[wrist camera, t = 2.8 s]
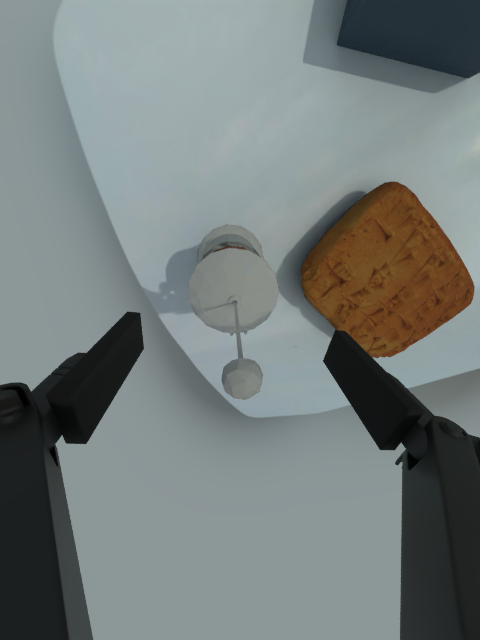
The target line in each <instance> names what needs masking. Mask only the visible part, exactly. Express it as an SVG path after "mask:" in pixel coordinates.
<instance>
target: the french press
mask: <svg viewBox="0 0 480 640" xmlns="http://www.w3.org/2000/svg"><path fill="white" fill-rule="evenodd" d="M263 258H264V257H263V253H262V249H261V244H260V243H259V242H258V240H257V239H256V238H255V236H254V235H253V233H251V232H249V231H247V230H246V229H244V228H242V227H241V226H232V225H225V226H222V227H219V228H216V229H213V230H212V231H211V232H210V233H209V234H208V235H207V236H206V237H205V238H204V239H203V241H202V243H201V245H200V248H199V250H198V264H197V265H196V267H195V269H194V271H193V274H192V276H191V278H190V280H189V301H190V303H191V306H192V308H193V310H194V313H195V314H196V315H197V316H198V317H199V318H200V319H201V320H202V321H203V322H204V323H205V324H206V325H207V326H209V327H212V328H214V329H216V330H219V331H221V332H228V333H230V335H231V336H232V335H233V333H236V336H237V348H238V359H236V360H233V361H231V362H230V363H228V364H227V365H226V366H225V367H224V368H223V374H222V383H223V386H224V389H225V392H227V393H228V394H229V395H231V396H232V397H233V398H237V399H243V400H246V399H248V398H250V397H251V396H253V395H255V394H256V393H258V392H259V391H260V387H261V383H262V378H263V374H262V371H261V368H260V366H259V365H258V364H257V363H256V362H255V361H253V360H250V359H243V354H242V346H241V337H240V332H244V333H245V334H247V330H251V329H254V328H255V327H257V326H258V325H260V324H261V323H262V322H264V321H265V320H267V318H268V317H269V315H270V314H271V312H272V311H273V309H274V308H275V306H276V302H277V297H278V292H279V288H278V283H277V279H276V274H275V272H274V271H273V270H272V268H271V267H270V266H269V264H268V263H267V262H266V261H265V259H263Z"/></svg>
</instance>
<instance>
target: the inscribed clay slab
mask: <svg viewBox="0 0 480 640" xmlns="http://www.w3.org/2000/svg"><path fill="white" fill-rule="evenodd" d="M301 276H302V278H301V285H302V289H303V291H304V296H305V297H306V299H307V300H308V301H309V302H310V303H311V304H312V306H313V307H314V308H315V309H316V310H317V311H318V312H319V313H320V314H321V315H323V316H324V317H326V319H327V320H328V321H329V322H330V323H331V325H332V326H333V327H334V328H335V329H336V330H341V331H346V332H347V333H348V334H349V335H350V336H351V337H352V338H353V339H354V340H355V341H356V342H357V343H358V344H359V345H360V346H361V347H362V348H363V349H364V350H365V351H366V352H367V353H368V354H369V355H370V356H371V357H375V358H379V357H380V356H381V357H387V356H388V357H391V356H393V355H396V354H398V353H400V352H402V351H404V350H405V349H407V348H408V347H409V346H410V345H412V344H414V343H415V342H417V341H419V340H420V339H422V338H424V337H425V336H427V335H429V334H430V333H431V332H433V331H434V330H436V329H437V328H438V327H440V326H441V325H443V324H444V323H446V322H447V321H449V320H450V319H452V318H453V317H454V316H456V315H457V314H458V313H460V312H461V311H462V310H464V309H465V308H466V307H467V306H469V305H470V304H471V302H472V299H473V295H474V284H473V281H472V279H471V276H470V274H469V272H468V270H467V268H466V267H465V265H464V263H463V261H462V259H461V258H460V256H459V255H458V253H457V251H456V250H455V248H454V246H453V245H452V244H451V241H450V240H449V238H448V237H447V236H446V235H445V233H444V232H443V230H442V229H441V228H440V226H439V225H438V223H437V222H436V221H435V219H434V218H433V217H432V216H431V214H430V213H429V212H428V211H427V210H426V209H425V208H424V207H423V205H422V204H421V202H420V201H419V200H418V198H417V197H416V195H415V194H414V193H413V192H412V191H410V190H409V189H408V188H407V187H406V186H405V185H402V184H400V183H398V182H387V183H384V184H382V185H380V186H378V187H377V188H375V189H374V190H372V191H371V192H369V193H368V194H366V195H365V196H364V197H363V198H361V199H360V200H359V201H358V202H357V203H356V204H355V205H353V206H352V207H351V208H350V209H349V210H348V211H347V212H346V213H345V215H344V216H343V217H342V218H341V219H340V220H339V221H338V222H337V223H336V224H335V225H334V227H333V228H331V229H330V230H328V231H327V232H326V234H325V235H324V236H323V237H322V238H321V240H320V241H319V243H318V244H317V245H316V246H315V247H314V248H313V249H312V250H311V252H310V253H309V254H308V255H307V259H306V260H305V262H304V263H303V265H302V268H301Z"/></svg>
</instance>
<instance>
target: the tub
mask: <svg viewBox="0 0 480 640" xmlns="http://www.w3.org/2000/svg"><path fill="white" fill-rule="evenodd" d="M337 45H340V46H344V47H348V48H351V49H355V50H359V51H363V52H367V53H371V54H375V55H379V56H383V57H387V58H391V59H395V60H399V61H403V62H407V63H411V64H415V65H418V66H422V67H426V68H430V69H434V70H438V71H442V72H446V73H450V74H454V75H458V76H462V77H466V78H470V77H472V76H474V75H476V74H477V73H480V0H347V4H346V8H345V13H344V17H343V21H342V26H341V30H340V34H339V39H338V43H337Z"/></svg>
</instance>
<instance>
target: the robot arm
mask: <svg viewBox="0 0 480 640" xmlns="http://www.w3.org/2000/svg"><path fill="white" fill-rule="evenodd" d="M143 349H144V346H143V336H142V326H141V317H140V313H136V312H127V313H126V314H125V315H124V316H123V317H122V318H121V319H120V320H119V321H118V322H117V323H116V324H115V325H114V326H113V327H112V328H111V329H110V330H109V331H108V332H107V333H106V334H105V335H104V336H103V337H102V338H101V339H100V340H99V341H98V342H97V343H96V344H95V345H94V346H93V347H92V348H91V349H90V350H89V351H88V352H87V353H77V354H75V355H73V356H72V357H69V358H68V359H66V360H65V361H64V362H63V363H62V364H61V365H60V366H59V367H58V368H57V369H55V370H54V371H53V372H52V373H51V375H49V376H48V377H47V378H46V379H45V380H43V381H42V382H41V383H40V384H39V385H38V386H37V387H36V388H35V389H34V390H33V391H32V392H31V391H30V389H29V387H28V386H27V385H26V384H23V383H8V384H4V385H0V640H93V637H92V631H91V627H90V620H89V615H88V610H87V605H86V600H85V594H84V589H83V584H82V578H81V573H80V568H79V562H78V557H77V552H76V547H75V541H74V536H73V530H72V525H71V520H70V515H69V509H68V504H67V499H66V493H65V488H64V484H63V478H62V473H61V467H60V462H59V456H58V451H57V447H56V445H55V443H56V442H57V441H58V440H59V438H60V437H61V435H63V437H64V440H65V442H66V443H68V444H69V443H70V444H86V443H87V442H88V440H89V439H90V437H91V435H92V433H93V431H94V430H95V429H96V427H97V425H98V424H99V422H100V420H101V419H102V417H103V415H104V414H105V412H106V410H107V409H108V407H109V405H110V404H111V402H112V400H113V399H114V397H115V395H116V394H117V392H118V390H119V389H120V387H121V385H122V384H123V382H124V380H125V379H126V377H127V376H128V374H129V372H130V371H131V369H132V367H133V365H134V364H135V362H136V361H137V359H138V357H139V356H140V354H141V352H142V351H143ZM323 362H324V363H325V365H326V366H327V368H328V370H329V371H330V373H331V374H332V376H333V377H334V379H335V380H336V382H337V384H338V385H339V387H340V388H341V390H342V391H343V393H344V394H345V396H346V398H347V399H348V401H349V402H350V404H351V405H352V407H353V408H354V410H355V412H356V413H357V414H358V416H359V418H360V419H361V421H362V423H363V424H364V426H365V427H366V429H367V430H368V432H369V433H370V435H371V437H372V438H373V440H374V441H375V443H376V444H377V446H378V447H379V449H380V450H395V449H396V448H397V446H398V445H399V444H400V443H401V442H402V444H403V445H404V447H405V448H406V450H405V451H404V452H403V453H402V454H401V456H400V457H399V458H398V459H397V460H396V462H395V464H396V465H399V463H400V462H403V466H402V540H401V542H402V545H401V612H400V615H401V616H400V640H480V438H479V437H475V436H472V435H469V434H467V433H466V431H465V430H464V429H463V428H461V427H460V426H459V425H457V424H456V423H454V422H452V421H450V420H449V419H446V418H443V417H439V416H434V415H433V414H432V413H431V412H430V411H429V410H428V409H427V408H426V407H425V406H424V405H423V404H422V403H421V402H420V401H419V400H418V399H417V398H416V397H415V396H414V395H413V394H411V392H410V391H409V390H408V389H407V388H405V386H404V385H403V384H402V383H401V382H400V381H399V380H398V379H397V378H395V377H394V376H392V375H391V374H389V373H388V372H386V371H385V370H384V369H383V368H382V367H381V366H380V365H379V364H378V363H377V362H376V361H375V360H374V359H373V358H372V357H371V356H370V355H369V354H368V353H367V352H366V351H365V350H364V349H363V348H362V347H361V346H360V345H359V344H358V343H357V342H356V341H355V340H354V339H353V338H352V337H351V336H350V335H349V334H348V333H347V332H346V331H341V330H335V332H334V335H333V337H332V340H331V342H330V345H329V347H328V350H327V352H326V355H325V357H324V360H323Z"/></svg>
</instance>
